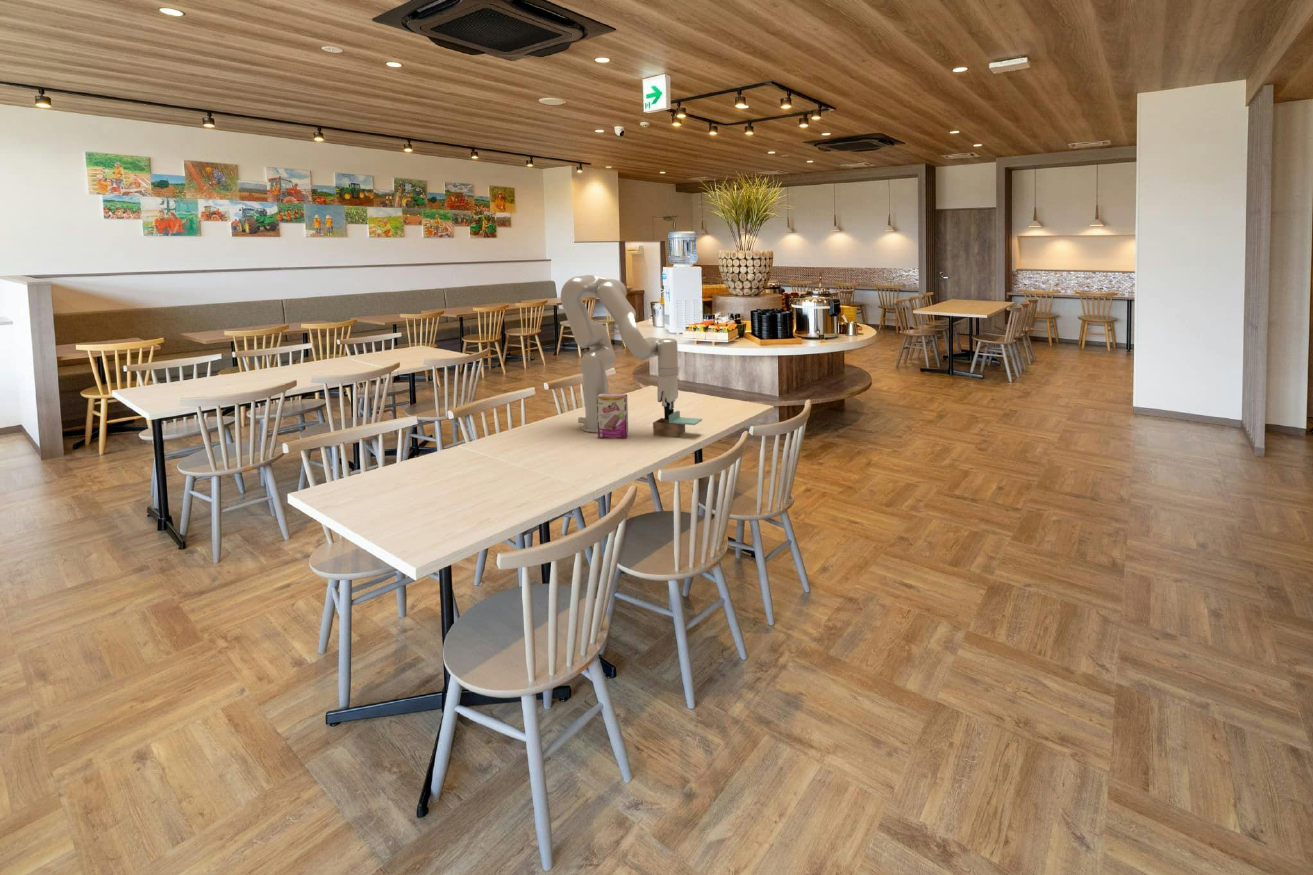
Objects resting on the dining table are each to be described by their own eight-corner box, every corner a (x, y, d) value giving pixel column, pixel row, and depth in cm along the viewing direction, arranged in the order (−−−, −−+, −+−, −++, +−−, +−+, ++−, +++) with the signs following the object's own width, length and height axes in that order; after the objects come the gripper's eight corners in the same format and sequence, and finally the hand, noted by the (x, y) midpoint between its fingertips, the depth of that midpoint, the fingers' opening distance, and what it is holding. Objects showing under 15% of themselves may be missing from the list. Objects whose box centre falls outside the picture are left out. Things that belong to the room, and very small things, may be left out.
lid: (669, 423, 277) (668, 415, 276) (677, 418, 284) (676, 410, 283) (694, 425, 273) (694, 417, 272) (702, 420, 280) (702, 412, 279)
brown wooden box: (653, 435, 281) (652, 422, 280) (661, 430, 288) (661, 417, 287) (677, 437, 277) (677, 424, 276) (685, 432, 284) (685, 419, 283)
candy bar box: (598, 438, 278) (595, 396, 274) (600, 435, 283) (598, 393, 279) (627, 438, 277) (625, 396, 273) (628, 435, 282) (627, 393, 278)
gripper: (666, 368, 284) (667, 414, 289) (650, 374, 271) (652, 422, 276) (684, 368, 281) (685, 415, 286) (669, 375, 268) (670, 424, 273)
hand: (669, 418), depth 281 cm, fingers closed
